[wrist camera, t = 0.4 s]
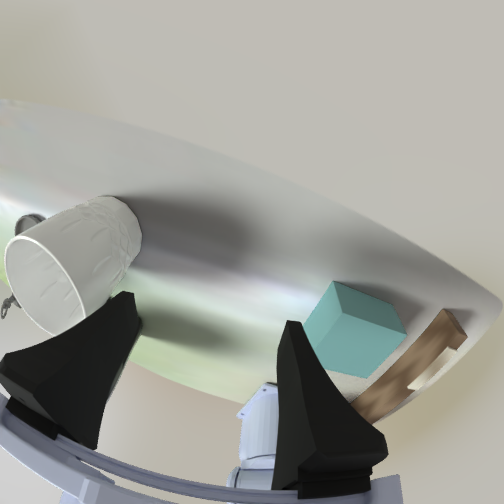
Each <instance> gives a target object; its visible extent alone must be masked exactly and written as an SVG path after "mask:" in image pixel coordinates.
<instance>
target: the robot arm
mask: <svg viewBox="0 0 504 504" xmlns="http://www.w3.org/2000/svg"><path fill="white" fill-rule="evenodd" d="M138 325H139V322H138V317H137V311H136V304H135V298H134V293H131V292H126V291H122V292H120V293H119V294H118V295H116V296H115V297H114V298H112V299H111V300H110V301H108V302H107V303H106V304H104V305H103V306H102V307H100V308H99V309H98V310H96V311H95V312H94V313H92V314H91V315H89V316H88V317H86V318H85V319H83V320H82V321H81V322H79V323H78V324H76V325H75V326H73V327H71V328H70V329H68V330H66V331H64V332H63V333H61V334H59V335H57V336H55V337H53V338H51V339H49V340H46V341H44V342H42V343H39V344H37V345H34V346H32V347H29V348H25V349H22V350H18V351H15V352H10V353H6V354H5V356H4V357H3V359H2V360H1V362H0V383H1V384H2V386H3V387H4V388H5V389H6V391H7V392H8V393H9V394H10V395H11V397H10V399H9V400H8V399H7V398H6V397H5V396H4V395H3V394H1V393H0V447H2V448H3V449H4V450H5V451H7V452H8V453H9V454H10V455H11V456H13V457H14V458H15V459H16V460H18V461H19V462H20V463H22V464H23V465H24V466H26V467H27V468H29V469H30V470H31V471H33V472H34V473H36V474H37V475H39V476H40V477H42V478H43V479H44V480H46V481H48V482H49V483H51V484H53V485H54V486H56V487H57V488H59V489H61V490H62V491H63V493H62V496H61V500H60V503H59V504H177V503H173V502H169V501H165V500H161V499H158V498H154V497H151V496H147V495H144V494H141V493H137V492H135V491H132V490H129V489H125V488H123V487H120V486H117V485H114V484H115V482H114V480H112V479H110V478H108V477H106V476H105V475H103V474H102V473H100V471H98V470H96V469H94V468H92V467H90V466H88V465H86V464H84V463H82V462H81V461H84V462H86V463H88V464H90V465H93V466H95V467H97V468H99V469H102V470H104V471H106V472H109V473H112V474H114V475H117V476H119V477H122V478H125V479H128V480H131V481H134V482H137V483H140V484H143V485H146V486H150V487H153V488H157V489H160V490H164V491H168V492H172V493H177V494H181V495H186V496H191V497H196V498H202V499H207V500H214V501H222V502H227V504H403V498H402V490H401V483H400V476H399V475H398V474H396V475H392V476H388V477H383V478H378V479H374V480H371V481H370V475H372V473H373V472H372V467H373V466H374V465H376V464H378V463H379V462H381V461H383V460H384V459H385V458H386V457H387V456H388V449H387V443H386V440H385V437H384V435H383V434H382V433H381V432H380V431H378V430H377V429H376V428H375V427H373V426H372V425H371V424H370V423H369V422H367V421H366V420H365V419H364V418H363V417H362V416H361V415H360V414H359V413H358V412H357V411H356V410H355V409H354V408H353V407H352V406H351V405H350V403H349V402H348V401H347V400H346V399H345V398H344V397H343V395H342V394H341V393H340V392H339V390H338V389H337V387H336V386H335V385H334V383H333V382H332V380H331V379H330V377H329V376H328V374H327V373H326V371H325V370H324V368H323V366H322V364H321V363H320V361H319V359H318V357H317V355H316V354H315V352H314V350H313V348H312V346H311V344H310V342H309V339H308V337H307V335H306V333H305V330H304V328H303V326H302V324H301V322H298V321H290V320H287V322H286V325H285V328H284V331H283V334H282V337H281V341H280V344H279V347H278V352H277V386H276V385H272V384H268V383H265V384H263V385H262V386H261V388H260V389H259V390H258V391H257V392H256V393H255V395H254V396H253V397H252V398H251V399H250V400H249V401H248V402H247V404H246V405H245V406H244V407H243V408H242V409H241V410H240V411H239V413H238V414H237V418H239V419H243V422H242V430H241V438H240V447H239V457H240V460H241V467H236V468H235V469H234V470H233V471H232V472H231V473H230V474H229V476H228V479H227V483H226V487H224V486H216V485H210V484H204V483H199V482H193V481H188V480H184V479H179V478H175V477H171V476H167V475H163V474H159V473H155V472H152V471H148V470H145V469H142V468H138V467H135V466H132V465H129V464H127V463H124V462H121V461H118V460H116V459H113V458H110V457H108V456H105V455H103V454H100V453H98V452H95V451H93V450H95V449H97V444H98V437H99V431H100V426H101V421H102V417H103V412H104V409H105V405H106V402H107V398H108V395H109V392H110V389H111V386H112V383H113V380H114V378H115V376H116V374H117V372H118V370H119V368H120V366H121V363H122V361H123V359H124V357H125V356H126V354H127V352H128V350H129V348H130V346H131V343H132V341H133V339H134V336H135V333H136V330H137V327H138Z"/></svg>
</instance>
